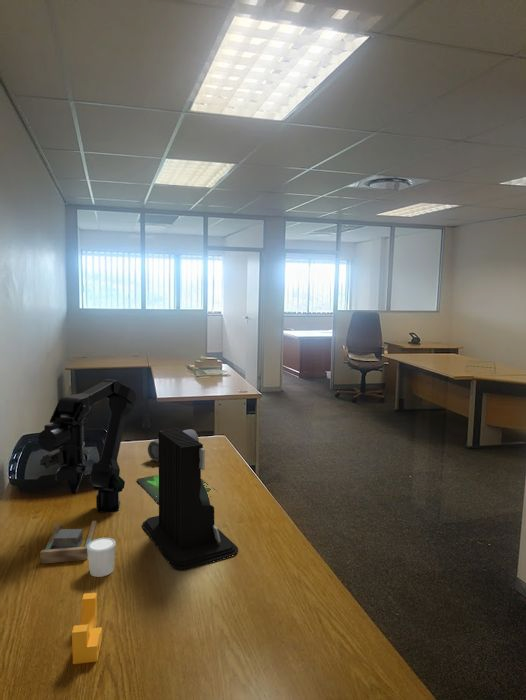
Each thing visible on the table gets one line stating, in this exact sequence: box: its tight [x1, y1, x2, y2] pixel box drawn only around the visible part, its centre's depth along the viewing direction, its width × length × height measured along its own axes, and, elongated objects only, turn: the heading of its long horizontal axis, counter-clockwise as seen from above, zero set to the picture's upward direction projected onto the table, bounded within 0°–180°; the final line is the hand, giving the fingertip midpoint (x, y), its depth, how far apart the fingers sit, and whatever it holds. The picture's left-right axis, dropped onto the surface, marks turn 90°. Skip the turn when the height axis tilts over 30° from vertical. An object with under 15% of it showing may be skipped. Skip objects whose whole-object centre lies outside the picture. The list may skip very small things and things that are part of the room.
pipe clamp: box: [71, 592, 103, 665], centre depth 96 cm, size 12×4×6 cm, turn 10°
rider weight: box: [53, 528, 84, 549], centre depth 132 cm, size 6×5×4 cm
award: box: [141, 427, 239, 571], centre depth 137 cm, size 30×19×30 cm, turn 31°
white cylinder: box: [87, 537, 116, 578], centre depth 121 cm, size 7×7×7 cm
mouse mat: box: [136, 474, 216, 505], centre depth 175 cm, size 27×22×1 cm
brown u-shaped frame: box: [39, 520, 98, 565], centre depth 134 cm, size 11×20×3 cm, turn 12°
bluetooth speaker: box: [147, 428, 200, 462], centre depth 208 cm, size 23×9×10 cm, turn 147°
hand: (73, 493), depth 140 cm, fingers closed
